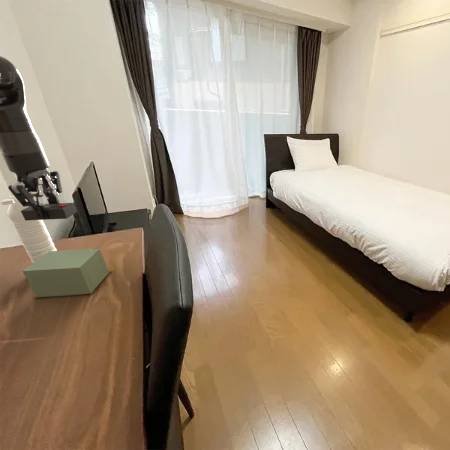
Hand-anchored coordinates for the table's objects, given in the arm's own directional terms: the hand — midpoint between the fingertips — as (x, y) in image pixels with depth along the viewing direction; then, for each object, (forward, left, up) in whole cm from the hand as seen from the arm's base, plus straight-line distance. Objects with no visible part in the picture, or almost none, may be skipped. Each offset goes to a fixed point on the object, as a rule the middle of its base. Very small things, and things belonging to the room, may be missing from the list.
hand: (50, 214), depth 73 cm
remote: (0, 0, -1) cm, 1 cm away
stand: (0, -2, -22) cm, 22 cm away
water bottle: (-13, +7, -22) cm, 26 cm away
